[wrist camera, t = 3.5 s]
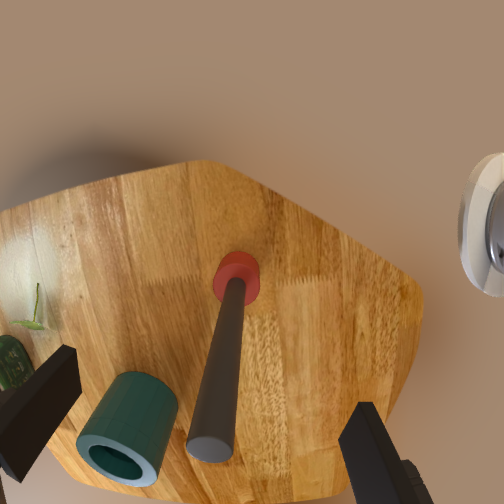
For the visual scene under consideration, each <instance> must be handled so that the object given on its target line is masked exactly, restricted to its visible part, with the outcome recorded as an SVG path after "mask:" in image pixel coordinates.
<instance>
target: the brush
mask: <svg viewBox="0 0 504 504" xmlns="http://www.w3.org/2000/svg"><path fill="white" fill-rule="evenodd" d="M213 290H214V293H215V295H216V297H217V298H218V299H219V300H220V301H221V302H222V304H221V308H220V312H219V315H218V319H217V323H216V327H215V331H214V335H213V338H212V342H211V346H210V350H209V354H208V358H207V362H206V366H205V370H204V374H203V377H202V381H201V385H200V389H199V393H198V397H197V401H196V405H195V409H194V413H193V418H192V422H191V426H190V430H189V434H188V438H187V442H186V449H187V451H188V453H189V454H190V455H191V456H193V457H194V458H196V459H198V460H200V461H203V462H208V463H220V462H224V461H226V460H228V459H230V458H231V456H232V455H233V451H234V437H235V423H236V410H237V397H238V384H239V370H240V357H241V344H242V331H243V318H244V306H247V305H249V304H250V303H252V302H253V301H254V300H255V299H256V297H257V296H258V294H259V290H260V277H259V266H258V264H257V262H256V260H255V259H254V258H253V257H252V256H251V255H250V254H248V253H245V252H240V251H237V252H232V253H230V254H228V255H226V256H225V257H224V258H223V259H222V261H221V263H220V265H219V267H218V270H217V272H216V274H215V277H214V280H213Z"/></svg>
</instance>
